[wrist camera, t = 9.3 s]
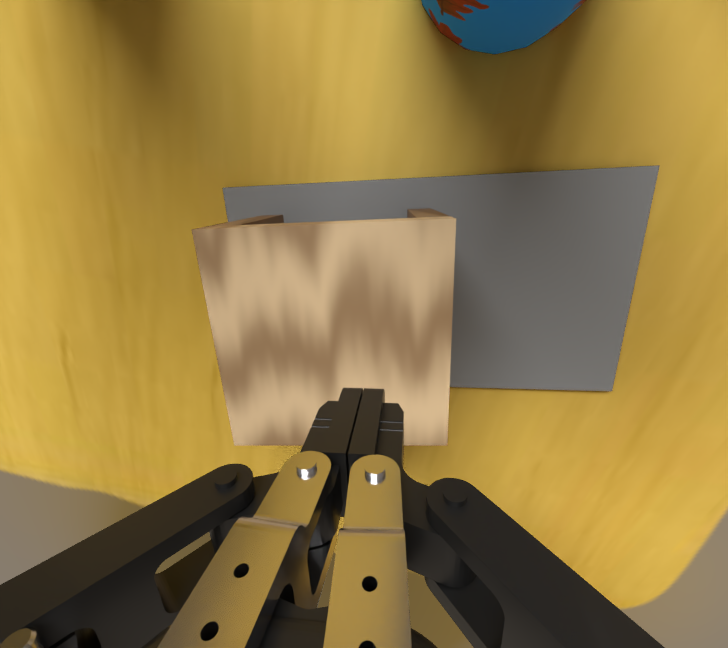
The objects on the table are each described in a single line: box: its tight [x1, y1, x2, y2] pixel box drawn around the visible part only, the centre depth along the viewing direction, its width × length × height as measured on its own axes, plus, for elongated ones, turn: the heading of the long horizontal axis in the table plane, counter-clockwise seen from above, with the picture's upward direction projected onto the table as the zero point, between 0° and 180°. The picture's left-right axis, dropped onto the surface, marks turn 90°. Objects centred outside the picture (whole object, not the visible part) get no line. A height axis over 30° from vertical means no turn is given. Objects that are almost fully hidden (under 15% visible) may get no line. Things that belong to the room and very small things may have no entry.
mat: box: [223, 166, 659, 391], centre depth 28 cm, size 16×29×1 cm, turn 93°
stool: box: [192, 208, 456, 445], centre depth 23 cm, size 12×10×12 cm
